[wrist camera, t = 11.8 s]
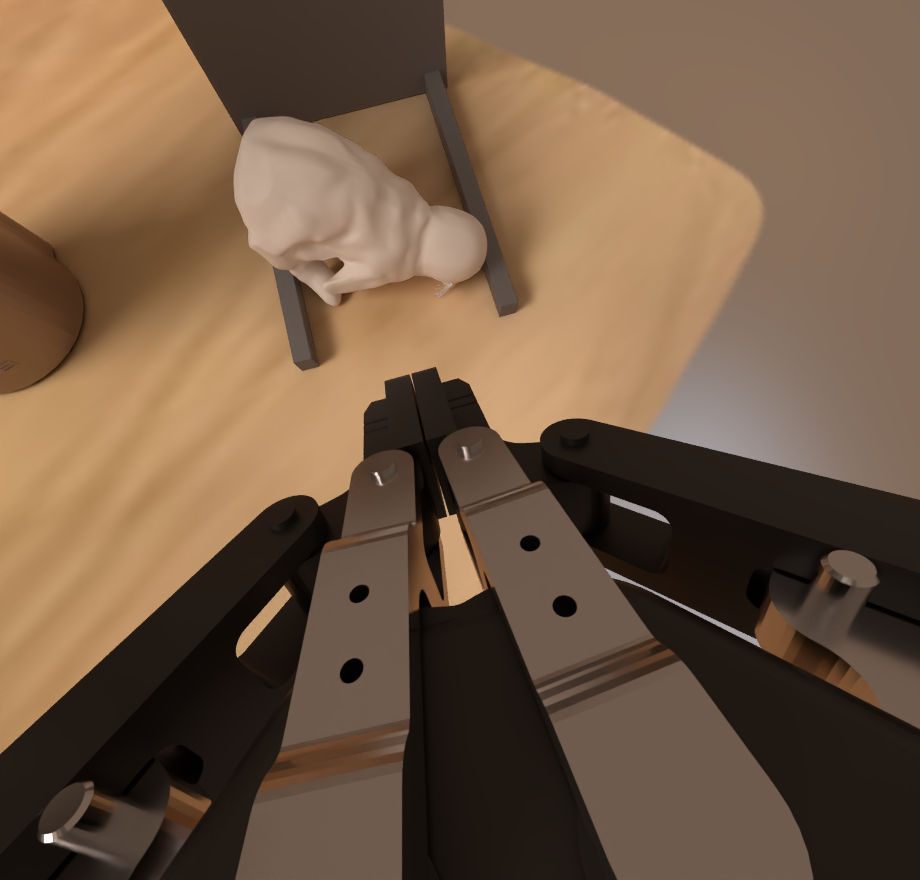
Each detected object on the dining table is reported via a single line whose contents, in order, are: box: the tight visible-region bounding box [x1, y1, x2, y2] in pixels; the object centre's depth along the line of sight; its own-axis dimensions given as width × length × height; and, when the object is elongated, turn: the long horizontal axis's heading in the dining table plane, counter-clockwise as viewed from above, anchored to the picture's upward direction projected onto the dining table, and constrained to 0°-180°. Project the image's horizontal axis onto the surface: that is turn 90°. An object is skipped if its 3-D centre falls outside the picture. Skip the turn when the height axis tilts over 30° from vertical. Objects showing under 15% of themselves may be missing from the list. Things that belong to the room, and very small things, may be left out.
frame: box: [162, 0, 518, 371], centre depth 21 cm, size 19×14×11 cm
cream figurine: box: [233, 116, 487, 306], centre depth 21 cm, size 6×8×12 cm
